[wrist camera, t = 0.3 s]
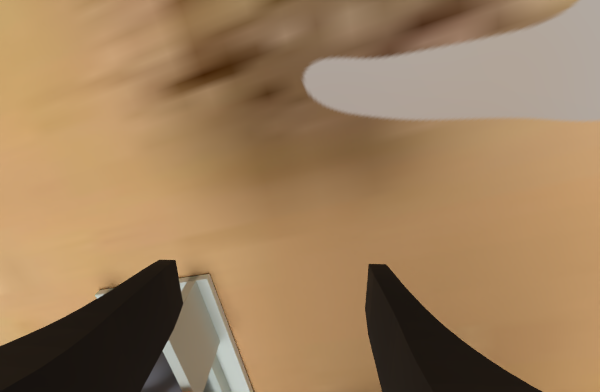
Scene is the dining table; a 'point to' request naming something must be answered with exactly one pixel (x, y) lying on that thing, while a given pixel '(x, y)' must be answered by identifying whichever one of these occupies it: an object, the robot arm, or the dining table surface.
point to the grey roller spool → (161, 378)
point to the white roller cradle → (203, 342)
